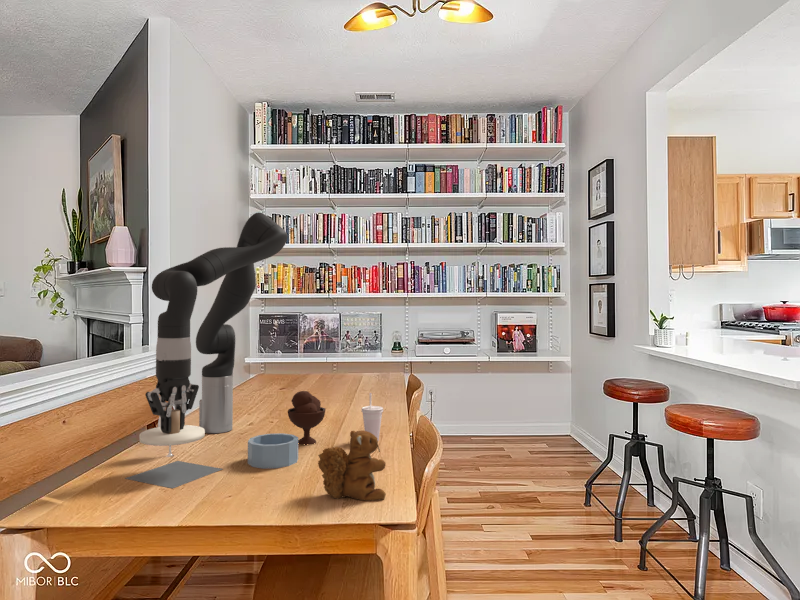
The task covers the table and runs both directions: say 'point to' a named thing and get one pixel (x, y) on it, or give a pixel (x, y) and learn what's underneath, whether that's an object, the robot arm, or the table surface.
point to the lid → (172, 433)
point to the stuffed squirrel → (352, 468)
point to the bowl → (273, 450)
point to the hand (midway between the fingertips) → (172, 430)
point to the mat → (174, 474)
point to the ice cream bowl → (306, 414)
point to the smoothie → (372, 418)
